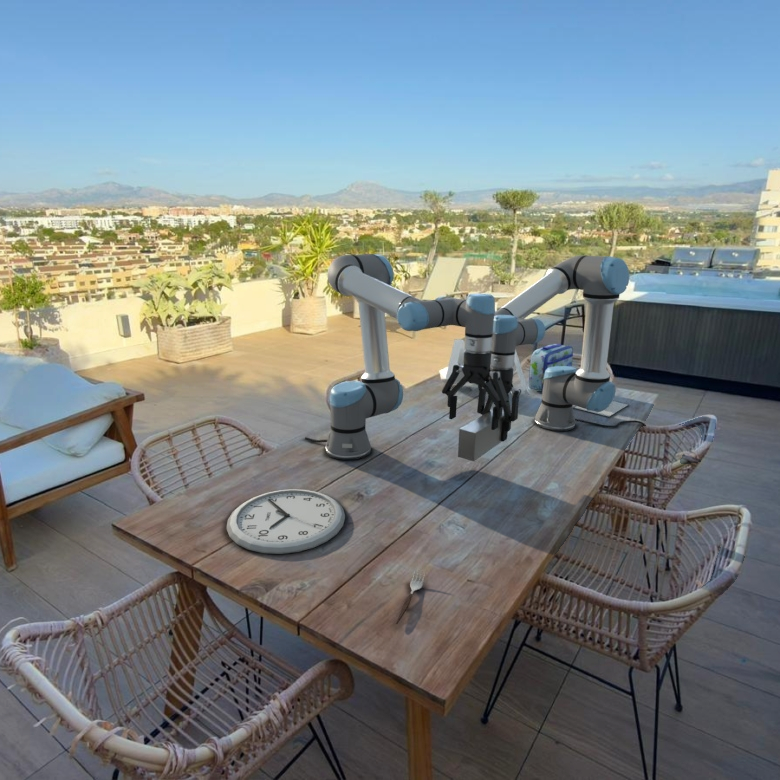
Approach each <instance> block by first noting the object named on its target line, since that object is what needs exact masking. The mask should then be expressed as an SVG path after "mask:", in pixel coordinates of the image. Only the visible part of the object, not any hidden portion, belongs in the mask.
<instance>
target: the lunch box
mask: <svg viewBox="0 0 780 780" xmlns="http://www.w3.org/2000/svg"><path fill="white" fill-rule="evenodd" d="M573 358H574V349H573V346H571V345H565V344H558V343H553V344H548V345H546V346H542V347H540V348H537V349H535V350H534V351H533V352H532V354H531V357H530V362H529V374H528V375H529V376H528V387H529V388H528V389H530V390H534V391H539V392H542V391H543V381H544V379H543V378H544V375H545V370H546V369H547V368H549V367H555V366H571V367H573Z"/></svg>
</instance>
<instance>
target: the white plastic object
mask: <svg viewBox="0 0 780 780" xmlns="http://www.w3.org/2000/svg"><path fill="white" fill-rule="evenodd" d="M496 311H497V310H495V312H496ZM464 345H465V339H463V338H460V339H458V338H454V340H453V344H452V349H451V353H450V357H449V362H448V366H446V367H444V368H442V369H440V370H439V371H438V372H439V376H440V381H442V383H443V384H444V385H445V384H446V383H447V381H448V379H449V377H450V375H451V373H452V371H453V366H454V365H456V364H461V366H464V363H463V360H464V352H465V351H466V350H465V349H464ZM514 366H515V369H516V372H517V376H518V380H519V382H520V385H521V390H522V391H523V393H524V395H525V396H526V397H528V396H531V395H530V390H529V388H528V387H529V386H528V384H527V381H526V378H525V375H524V371H523V369H522V368H523V367H522V366H521V362H520V359H519V355H518V352H517V349H516V348H515V357H514ZM464 376H465V375H464V374H463V372H462V371H461V372H460V373H459V375H458V377H457V378H456V380H455V382H454V384H453V385H456V384H457V383H458V382H459V381H460V380H461V379H462V378H463V377H464ZM467 383H468V384H469V382H467ZM467 383H466V384H467ZM512 384H513V387H514V388H515V385H514V381H513V380H512ZM509 393H510V394H511V395H512V391H510V392H509Z"/></svg>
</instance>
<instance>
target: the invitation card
mask: <svg viewBox="0 0 780 780" xmlns="http://www.w3.org/2000/svg"><path fill="white" fill-rule="evenodd" d="M628 406H629V404H627V403H623V402H618V401H614V400H612V402H611V404H610V405H609V406H608V407H607V408H606V409H605V410H603V411H601V412H595V411H591V410H590V411H589V410H587V409H584V408H581V407H578V406H574V407H573V409H575V410H581V411H584V412H587V413H593V414H596V415H600V416H604V417H608V418H609V417H611V416H613V415H614V414H616V413H617V412H619V411H621V410H623V409H624V408H626V407H628Z"/></svg>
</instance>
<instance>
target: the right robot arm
mask: <svg viewBox="0 0 780 780" xmlns="http://www.w3.org/2000/svg"><path fill="white" fill-rule="evenodd" d="M629 283H630V270H629V267H628V265H627V263H626V262H625V260H624V259H622V258H621V257H616V256H615V257H614V256H607V255H605V256H603V255H587V254H586V255H585V254H580V255H575V256H572V257H569V258H567V259H565V260H563V261H561V262H559V263H557V264H556V265H554V266H553V267H551V268H550V269H548V270H547V271H546V272H545V275H544V276H543V277H542V278H541V279H539V280H538V281H537V282H535V283H534V284H532V285H531V286H529V287H528V288H526V289H525V290H524V291H523V292H521V293H520V294H518V295H517V296H516V297H514V298H513V299H512V300H510V301H508V302H507V303H505V305H503V306H501V307H500V308H499V309H497V310H495V311H496V312H495V314H494V323H493V336H492V350H491V351H490V352H491V365H490V370H491V371H494V372H497V371H500V372H501V380H502V383H503V385H504V388H505V391H506V394H507V396H508V399H509V400H510V394H509V393H511V392H510V391H512V394H511V396H512V397H511V403H510V404H509V405H508V406H506V407H503V409H502V411H504V417H505V420H504V421H503V424H502V435H501V441H502V442H503V443H504V442H505V441H506V440H508V434H507V432H510V431H511V429H512V422H515V421H516V420H518V417H519V407H520V406H519V405H520V395H521V393H522V389H521V388H516V387H515V386H514V387H513V385H514V383H513V384H512V381H513V379H514V366H515V363H514V357H515V349H516V347H518V346H525V345H532V344H533V345H534V344H535V343H539V342H541V341H542V340H543V339H544V338H545V335H546V326H545V323H544V322H543V321H542V320H541V319H539V318H532V317H531V318H527V317H528V316H530V315H531V314H533V313H534V312H536V311H537V310H538V309H539V308H541V307H542V306H544V305H545V304H546V303H548V302H549V301H550V300H552V299H553V298H554V297H555V296H557V295H562V294H564V293H566V292H567V291H570V290H580V291H582V298H583V300H585V301H586V307H585V317H584V329H583V337H582V338H583V339H582V347H581V360H580V367H579V368H577V367H576V366H572V367H571V366H555V367H549V368H547V369H546V370H545V375H544V378H543V379H544V381H543V391H541V393H542V394H541V402H540V405H539V407H538V410H537V411H536V413H535V417H534V424H535V425H536V426H537V427H539V428H542V429H544V430H549V431H556V432H567V431H572V430H574V429H575V428H576V422H579V423H585V424H589V425H593V426H597V427H602V428H608V429H609V428H610V429H611V428H613V429H614V428H617V427H619V425H622V424H630V423H637V424H640V425H642V426H643V427H647V425H646V423H644V422H642V421H640V420H635V419H633V420H622V421H619V422H618V423H616V424H613V425H608V424H602V423H597V422H592V421H588V420H584V419H579V418H575V417H576V416H575V413H574V407H576V406H578V407H581V408H584V409H587V410H589V411H590V410H591V411H595V412H601V411H603V410H605V409H606V408H607V407H608V406H609V405H610V404H611V402H612V401H614V398H615V395H616V392H617V391H616V390H617V388H616V386H615V383H614V382H612V381H610V379H611V373H610V372H609V371H608V370H607V365H608V357H609V349H610V339H611V330H612V321H613V313H614V304H615V302H616V301H618V300H619V299H620V296H621V294H623V293H624V292H625V291H626V290H627V287H628V285H629ZM526 318H527V319H526ZM489 379H490V381H491V384H492V386H493V387H494V389H495V391H496V392H497V390H496V387H495V385H494V381H493V379H492V377H491V376H490V377H489ZM485 383H486V382H485ZM477 389H478V397H477V398H478V399H477V407H476V408H477V410H476V411H477V414H480V415H481V416H483V415H484V414H486V413H488V412H489V411H491V410H492V408H493V405H494V403H493V401H492V400H491V398H490V396H489V395H488V394H487V392H486V390H485V388H483V387H482V385H481V384H480V385H477ZM497 394H498V393H497ZM486 395H487V399H486ZM573 406H574V407H573ZM502 442H501V443H502Z"/></svg>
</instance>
